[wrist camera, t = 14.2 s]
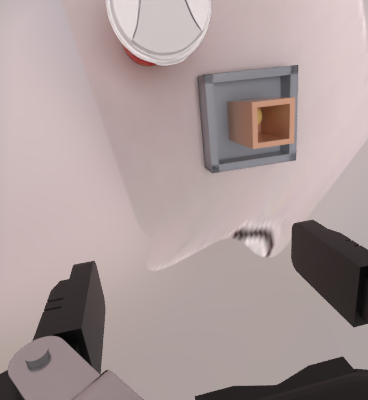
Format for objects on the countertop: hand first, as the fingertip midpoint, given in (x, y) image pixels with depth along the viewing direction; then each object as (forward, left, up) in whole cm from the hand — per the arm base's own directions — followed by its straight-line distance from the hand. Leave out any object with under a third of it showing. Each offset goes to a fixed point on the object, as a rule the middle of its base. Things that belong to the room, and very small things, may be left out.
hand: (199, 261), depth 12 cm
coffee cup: (-13, +2, -30) cm, 33 cm away
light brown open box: (-2, +14, -29) cm, 32 cm away
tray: (-2, +14, -30) cm, 33 cm away
